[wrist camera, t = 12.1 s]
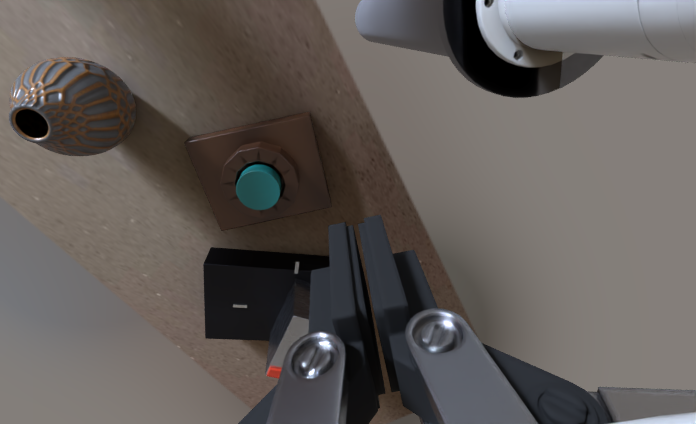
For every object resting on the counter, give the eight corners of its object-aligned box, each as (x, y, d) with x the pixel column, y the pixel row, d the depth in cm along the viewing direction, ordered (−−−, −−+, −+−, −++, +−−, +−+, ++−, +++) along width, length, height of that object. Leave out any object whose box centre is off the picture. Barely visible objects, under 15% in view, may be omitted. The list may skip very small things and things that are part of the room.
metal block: (295, 277, 36) (293, 318, 31) (315, 283, 37) (316, 323, 31) (270, 331, 39) (264, 377, 34) (289, 336, 40) (286, 381, 35)
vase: (43, 54, 27) (-61, 63, 20) (136, 54, 28) (70, 63, 20) (74, 140, 31) (-6, 178, 23) (156, 139, 31) (107, 175, 24)
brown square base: (309, 111, 32) (309, 120, 28) (330, 199, 36) (332, 215, 33) (189, 137, 32) (176, 149, 28) (224, 222, 36) (216, 241, 33)
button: (274, 159, 30) (273, 166, 28) (286, 196, 32) (285, 205, 30) (233, 168, 30) (229, 176, 28) (247, 205, 32) (244, 214, 30)
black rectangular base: (353, 249, 39) (357, 266, 36) (337, 331, 44) (339, 351, 41) (210, 238, 36) (202, 255, 34) (212, 325, 42) (205, 346, 39)
